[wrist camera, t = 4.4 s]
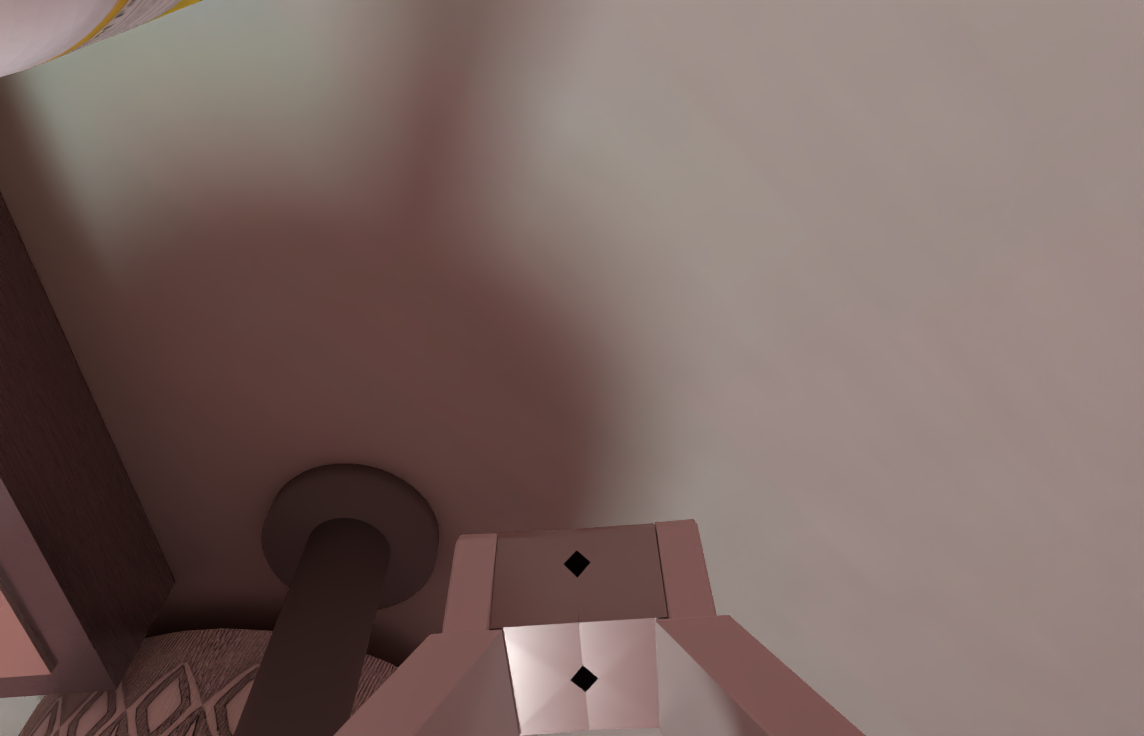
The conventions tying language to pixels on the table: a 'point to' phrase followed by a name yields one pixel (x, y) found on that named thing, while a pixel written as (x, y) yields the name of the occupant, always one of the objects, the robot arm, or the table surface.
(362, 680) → the planter
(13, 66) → the pill bottle
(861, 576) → the table surface
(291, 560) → the post
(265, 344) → the table surface
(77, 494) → the dark grey slotted tray
